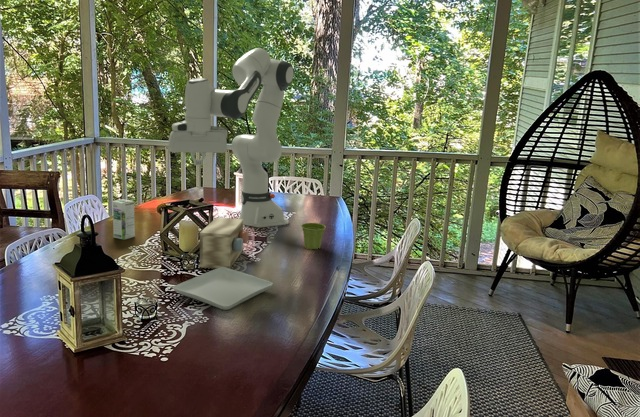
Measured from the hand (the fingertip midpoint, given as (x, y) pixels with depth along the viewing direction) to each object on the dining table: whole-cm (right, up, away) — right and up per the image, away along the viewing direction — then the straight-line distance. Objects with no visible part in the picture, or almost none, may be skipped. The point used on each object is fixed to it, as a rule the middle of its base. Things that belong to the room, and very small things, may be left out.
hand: (198, 164), depth 175 cm
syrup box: (-32, -27, +14) cm, 44 cm away
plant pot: (+41, -31, +15) cm, 53 cm away
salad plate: (+16, -41, -32) cm, 54 cm away
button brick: (+14, -28, 0) cm, 31 cm away
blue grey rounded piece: (+14, -30, -9) cm, 34 cm away
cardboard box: (+9, -33, -3) cm, 35 cm away
